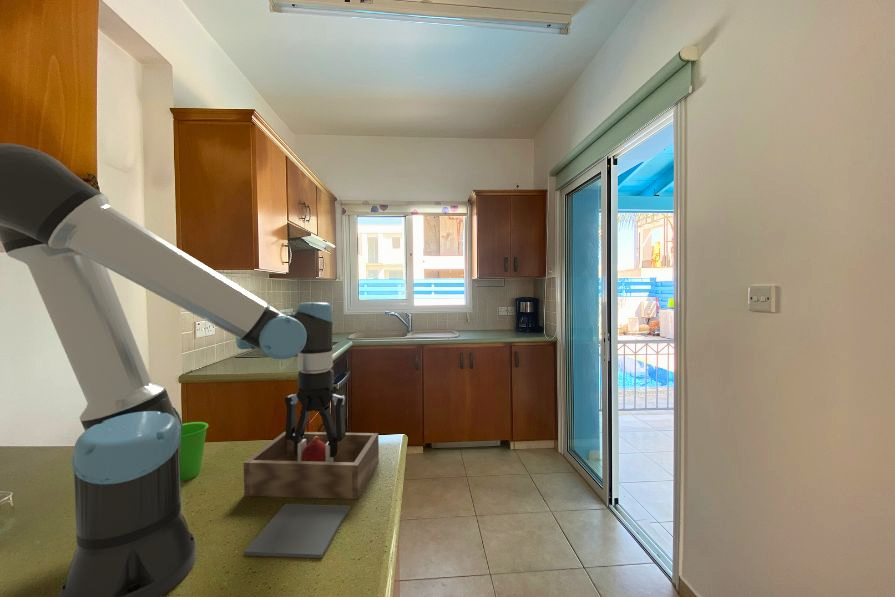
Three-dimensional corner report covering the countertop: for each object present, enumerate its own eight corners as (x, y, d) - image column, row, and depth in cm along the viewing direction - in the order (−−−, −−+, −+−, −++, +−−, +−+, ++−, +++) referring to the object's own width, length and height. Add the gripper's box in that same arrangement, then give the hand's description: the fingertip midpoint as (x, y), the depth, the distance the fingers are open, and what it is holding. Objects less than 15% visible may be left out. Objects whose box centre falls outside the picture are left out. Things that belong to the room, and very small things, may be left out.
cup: (214, 463, 89) (213, 419, 89) (202, 482, 81) (201, 433, 80) (171, 469, 86) (170, 424, 86) (154, 489, 78) (152, 439, 77)
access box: (244, 495, 75) (243, 462, 75) (284, 458, 91) (284, 431, 91) (358, 498, 73) (357, 465, 73) (378, 460, 90) (378, 433, 90)
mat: (244, 555, 58) (244, 551, 58) (285, 506, 71) (285, 503, 71) (321, 558, 57) (321, 554, 57) (349, 508, 70) (349, 505, 70)
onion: (323, 478, 79) (323, 442, 79) (297, 477, 79) (297, 441, 79) (332, 465, 85) (332, 432, 85) (308, 465, 85) (308, 431, 85)
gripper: (360, 366, 85) (360, 463, 85) (284, 365, 86) (284, 460, 87) (350, 374, 77) (350, 479, 78) (266, 372, 79) (267, 476, 79)
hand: (315, 469), depth 82 cm, fingers closed on onion, 6 cm apart
